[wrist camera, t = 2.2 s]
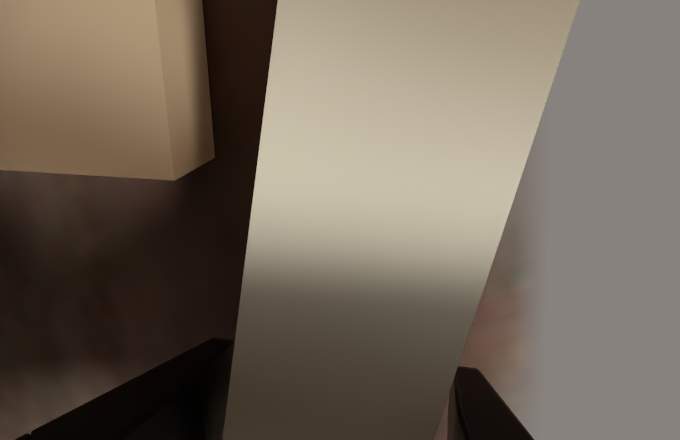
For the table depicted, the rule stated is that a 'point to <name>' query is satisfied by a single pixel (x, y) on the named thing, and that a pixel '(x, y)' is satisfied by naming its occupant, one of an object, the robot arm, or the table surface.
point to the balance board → (104, 88)
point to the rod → (381, 206)
